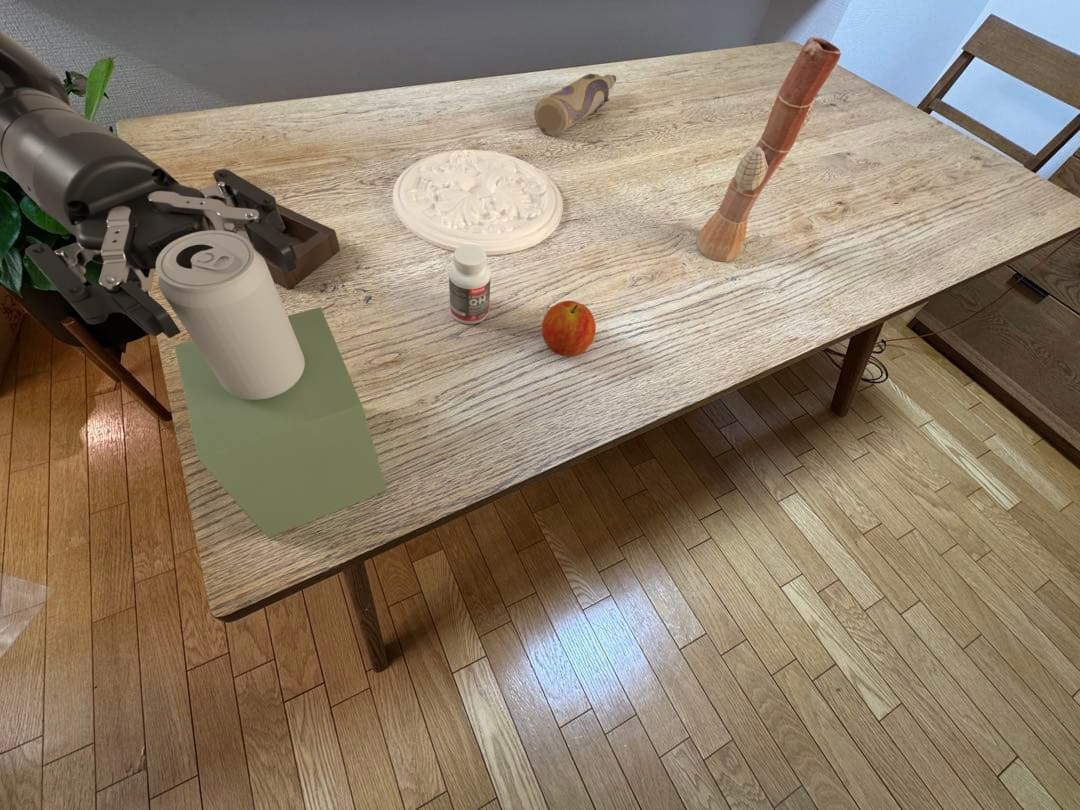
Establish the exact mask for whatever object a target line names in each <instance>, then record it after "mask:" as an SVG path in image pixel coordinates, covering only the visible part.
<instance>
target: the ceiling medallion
mask: <svg viewBox="0 0 1080 810" xmlns="http://www.w3.org/2000/svg"><path fill="white" fill-rule="evenodd" d="M392 205H393V208H394V211H395V214H396V216H397V218H398V219H399V221H400V222H401V223H402V224H403V226H404V227H405V228H406V229H407V230H408V231H409V232H410V233H412V234H413V235H414V236H416V237H417V238H419V239H421V240H422V241H424V242H426V243H428V244H430V245H433V246H435V247H437V248H441V249H444V250H447V251H450V252H453V253H454V252H455V250H456V249H457V248H458V247H460V246H462V245H475V246H478V247H480V248H482V249H483V250H484V251H485V253H486V256H498V255H508V254H512V253H517V252H520V251H524V250H526V249H529V248H531V247H534V246H536V245H538V244H539V243H542V242H543V241H544V240H546V239H547V238H549V237H550V236H551V235H552V234H553V232H554V231H555V230H556V229H557V228H558V226H559V224H560V223H561V220H562V216H563V210H564V201H563V197H562V194H561V192H560V190H559V188H558V186H557V185H556V183H555V182H554V181H553V180H552V179H551V177H549V176H548V175H547V174H546V173H545V172H543V171H542V170H541V169H539V168H537V167H536V166H534V165H532V164H531V163H530V162H527V161H525V160H522V159H520V158H517V157H515V156H512V155H509V154H506V153H501V152H498V151H497V152H496V151H491V150H484V149H483V150H482V149H458V150H448V151H445V152H440V153H439V152H438V153H435V154H432V155H430V156H427V157H425V158H422V159H419V160H418V161H416V162H414V163H413V164H411V165H410V166H408V167H407V168H406V169H404V171H402V173H401V174H400V175H399V176H398V178H397V179H396V181H395V183H394V186H393V189H392Z"/></svg>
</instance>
